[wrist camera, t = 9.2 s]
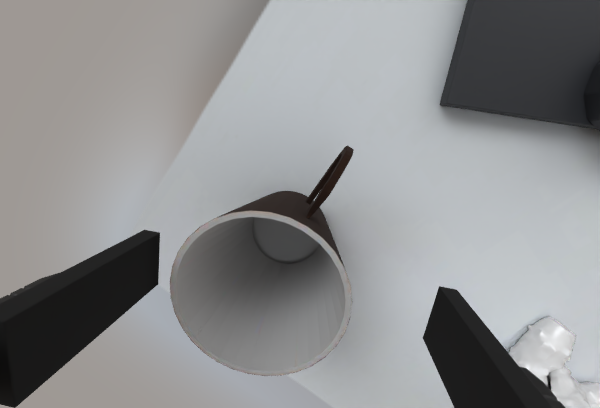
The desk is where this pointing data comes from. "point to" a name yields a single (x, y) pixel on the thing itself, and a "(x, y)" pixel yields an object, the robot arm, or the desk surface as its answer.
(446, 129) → the desk surface
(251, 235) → the coffee mug
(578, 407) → the sitting furry creature
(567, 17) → the scale
